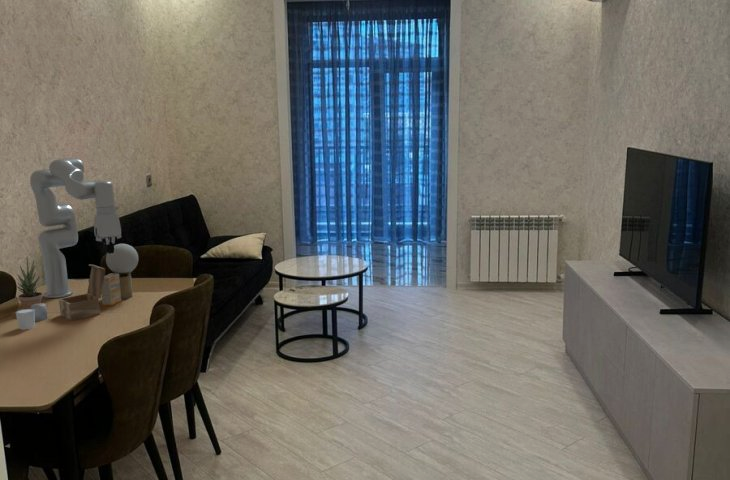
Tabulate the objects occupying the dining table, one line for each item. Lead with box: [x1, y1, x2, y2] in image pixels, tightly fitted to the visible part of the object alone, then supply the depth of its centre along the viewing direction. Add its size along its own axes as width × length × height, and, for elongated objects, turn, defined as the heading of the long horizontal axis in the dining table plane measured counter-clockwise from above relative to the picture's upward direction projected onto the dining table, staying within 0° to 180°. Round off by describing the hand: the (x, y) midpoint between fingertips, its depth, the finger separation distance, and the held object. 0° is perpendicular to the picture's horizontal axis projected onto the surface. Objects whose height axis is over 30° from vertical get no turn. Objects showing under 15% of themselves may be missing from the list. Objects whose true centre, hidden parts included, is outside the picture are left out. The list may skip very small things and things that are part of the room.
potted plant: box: [16, 257, 44, 310], centre depth 292 cm, size 10×10×25 cm
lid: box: [86, 263, 106, 300], centre depth 289 cm, size 12×13×2 cm
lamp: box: [105, 243, 139, 301], centre depth 312 cm, size 15×14×25 cm
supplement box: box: [101, 272, 122, 307], centre depth 302 cm, size 8×5×13 cm, turn 168°
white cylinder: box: [15, 308, 36, 331], centre depth 269 cm, size 7×7×7 cm
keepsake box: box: [58, 293, 101, 321], centre depth 286 cm, size 12×12×7 cm
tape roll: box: [31, 302, 49, 322], centre depth 281 cm, size 6×6×6 cm
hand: (110, 252), depth 289 cm, fingers closed
